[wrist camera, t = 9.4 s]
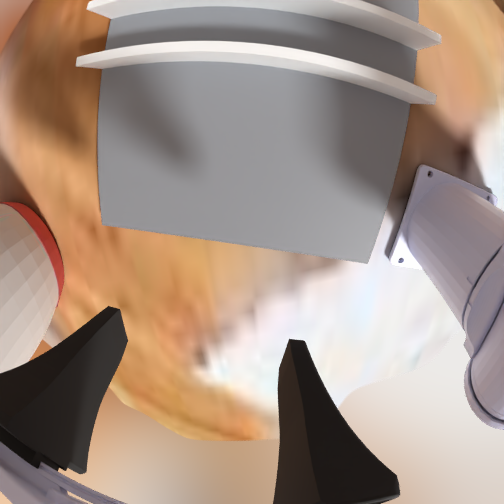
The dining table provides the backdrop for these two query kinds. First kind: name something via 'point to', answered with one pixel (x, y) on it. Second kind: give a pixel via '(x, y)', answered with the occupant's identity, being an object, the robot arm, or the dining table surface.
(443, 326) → the dining table surface
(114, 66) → the grey ridged board
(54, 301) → the citrus juicer
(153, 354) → the dining table surface
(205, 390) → the dining table surface
